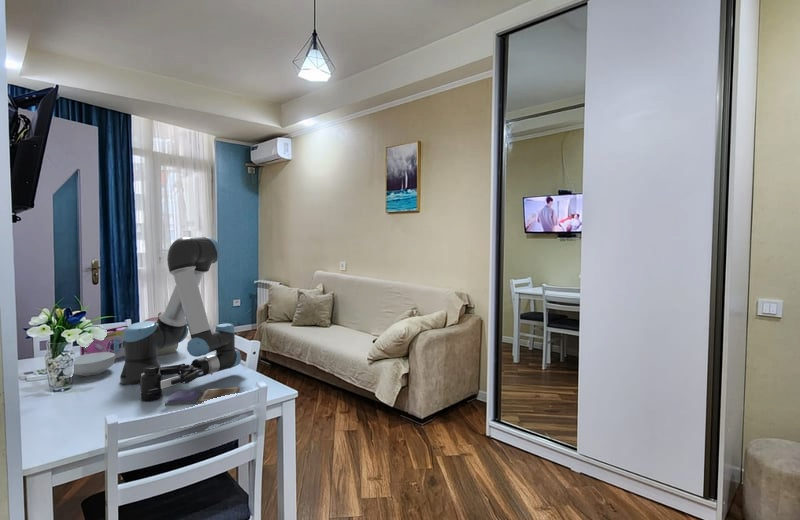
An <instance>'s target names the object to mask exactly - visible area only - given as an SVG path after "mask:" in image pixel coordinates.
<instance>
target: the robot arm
mask: <svg viewBox="0 0 800 520" xmlns="http://www.w3.org/2000/svg"><path fill="white" fill-rule="evenodd" d="M221 255H222V249H221V247H220V244H219V243H218V242H217V241H216V239H214V238H212V237H208V236H207V237H206V236H200V237H199V236H198V237H197V236H196V237H194V236H191V237H189V236H183V237H179V238H177V239H176V240H174V241H173V242H172V243H171V245H170V247H169V249H168V250H167V259H166V260H167V268H168V271H169V274H170V275H172V276H173V278H174V281H175V286H174V288H173V291H172V292H171V296H170V297H169V300H168V303H167V305H166V308H165V310H164V311H162V312H163V313H161V314H160V315H159V317H158V316H157V317H158V320H157V322H156V323H155V322H153V321H145V320H143V321H142V322H140V321H139V322H135V323H132V324H129V325H127V326H128V327H126V329H125V331H124V349H125V356H124V365H123V366H122V370H121V374H120V376H119V377H120V378H119V379H120V381H119V383H120V384H123V385H128V386H129V385H131V386H133V385H136V386H137V385H141V376H142V375H144V367H146V366H151V365H157V366H159V373H161V375H162V376H171V375H172V376H173V375H177V376H173V377H170V378H167V379H162V381H161V389H162V390H163V389H166V388H168V387H169V388H170V387H171V386H175V385H178V384H185V385H188V384H189V383H191V382H193V381H194V380H196V379H198V378H202V377H205V376H208V375H211V376H212V375H213V374H214V373H219V372H221V371H224V370H228V369H232V368H234V367H237V366H239V365H240V364H241V362H242V355H241V352H240V351H239V350H238V349H237V348H236V345H235V344H236V341H235V339H236V337H235V336H236V335H235V334H236V332H235V326H234V324H232V323H221V324H217V325H216V326H215V329H214V331H213V332H212V330H211V328H210V327H211V326H210V324H209V319H208V316H207V313H206V309H205V306H204V302H203V299H202V294H201V291H200V287H199V285H200V283H201V280H202V278H203V277H204V276H203V275H204V274H205V273H208V272H209V271H210V268H211V266H212V264H216V263H217V262H218V261H219V260H220V258H221ZM188 334H190V340H188V341H187V344H186V345H187V346H186V350H187V352H188V353H189V355H190V356H192V357H195V359H193V360H192V362H191V363H190V364H186V363H184V362H183V363H181V364H174V365H168V366H167V365H166V366H161V364H160V361H159V359H158V355H157V350H158V349H161V348H165V347H168V346H172V345H175V344H178V345H179V344H180V343H182V342H183V341H185V339H186V338H187V337H188ZM212 352H215V353H214V354H210V353H212ZM208 354H209V355H208ZM202 356H203V357H202ZM197 357H200V358H197Z"/></svg>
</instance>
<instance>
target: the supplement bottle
mask: <svg viewBox="0 0 800 520" xmlns="http://www.w3.org/2000/svg"><path fill="white" fill-rule="evenodd" d="M162 380H163V375H161V373H159V366H157V365H151V366H146V367H144V375H142V376H141V384H140V400H141V401H142V402H145V403H146V402H148V403H149V402H150V403H151V402H155V401H158V400H160V399H161V398H162V396H163V389H161V381H162Z"/></svg>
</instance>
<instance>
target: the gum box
mask: <svg viewBox="0 0 800 520" xmlns="http://www.w3.org/2000/svg"><path fill="white" fill-rule="evenodd" d="M128 326H129V325H122V326H118V327H113V328H108V329H106V330H107V332H108V333H107V336H106V338H105V339H104V340H103V341H97V340H94V341H93V342H92V343H91V344H90V345H89V346H88V347H86V348H85V347H81V346H80V345H79V346H80V352H79V353H80V354H79V356H81V355H85V354H91V353H100V352H110V353H114V354H115V359H117V358H121V357H125V349H124V331H125V329H126V327H128Z"/></svg>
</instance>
